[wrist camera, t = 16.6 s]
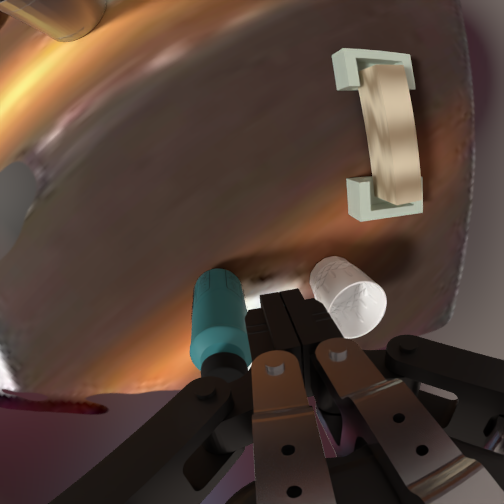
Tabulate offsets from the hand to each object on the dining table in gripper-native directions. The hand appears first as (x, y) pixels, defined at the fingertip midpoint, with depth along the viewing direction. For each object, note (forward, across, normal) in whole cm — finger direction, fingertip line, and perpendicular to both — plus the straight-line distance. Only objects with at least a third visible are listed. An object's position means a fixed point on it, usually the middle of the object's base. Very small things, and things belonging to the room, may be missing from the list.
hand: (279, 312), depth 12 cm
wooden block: (+28, -20, -6) cm, 35 cm away
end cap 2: (+29, -20, +2) cm, 35 cm away
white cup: (+29, -12, +14) cm, 35 cm away
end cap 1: (+29, -20, -14) cm, 38 cm away
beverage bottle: (+29, +4, +12) cm, 32 cm away
